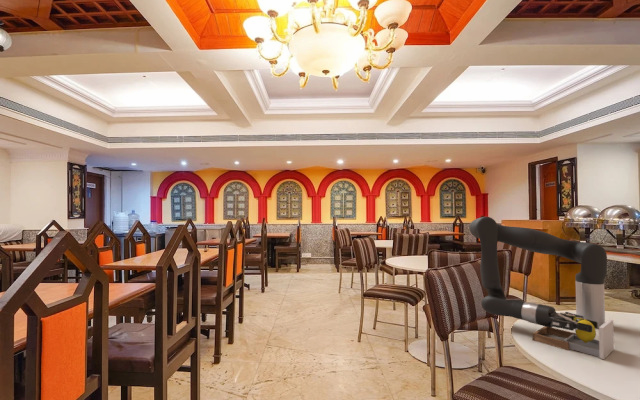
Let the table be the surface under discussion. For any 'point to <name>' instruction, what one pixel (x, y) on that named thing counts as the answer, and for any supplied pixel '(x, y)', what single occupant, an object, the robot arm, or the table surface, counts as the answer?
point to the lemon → (586, 335)
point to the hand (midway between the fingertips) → (594, 327)
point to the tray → (595, 342)
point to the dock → (551, 341)
